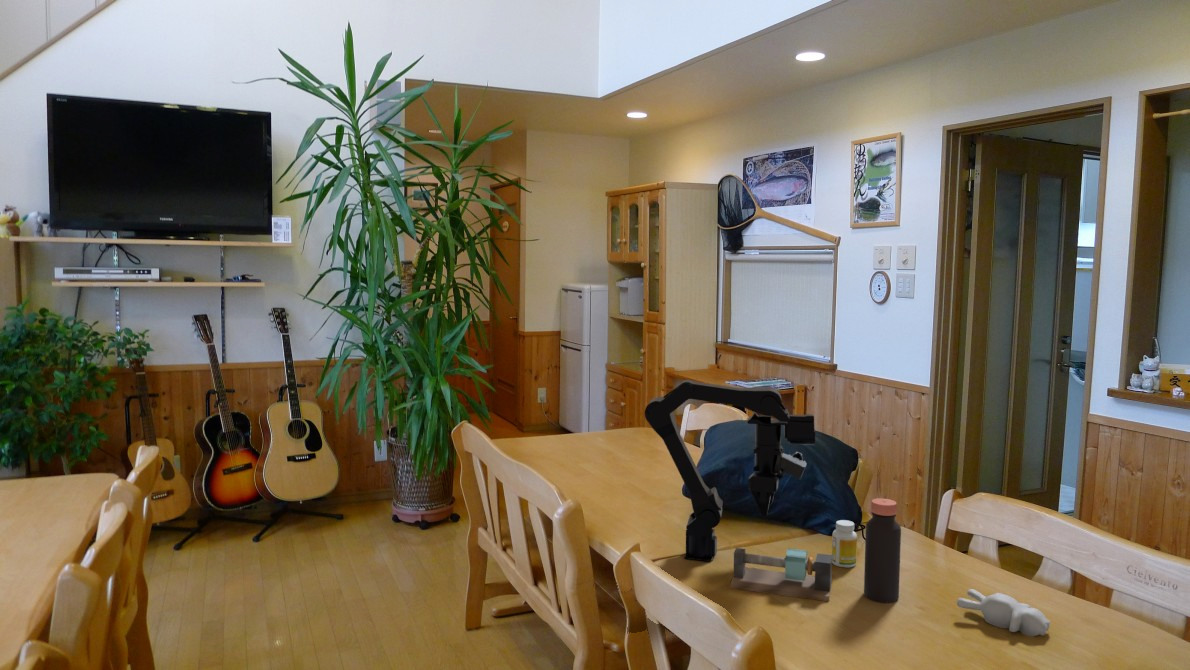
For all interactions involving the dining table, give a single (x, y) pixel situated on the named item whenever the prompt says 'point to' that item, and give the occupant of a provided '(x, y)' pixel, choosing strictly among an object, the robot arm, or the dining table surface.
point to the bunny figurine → (1007, 613)
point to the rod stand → (782, 576)
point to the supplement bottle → (844, 544)
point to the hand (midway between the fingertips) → (767, 509)
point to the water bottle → (882, 552)
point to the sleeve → (795, 564)
